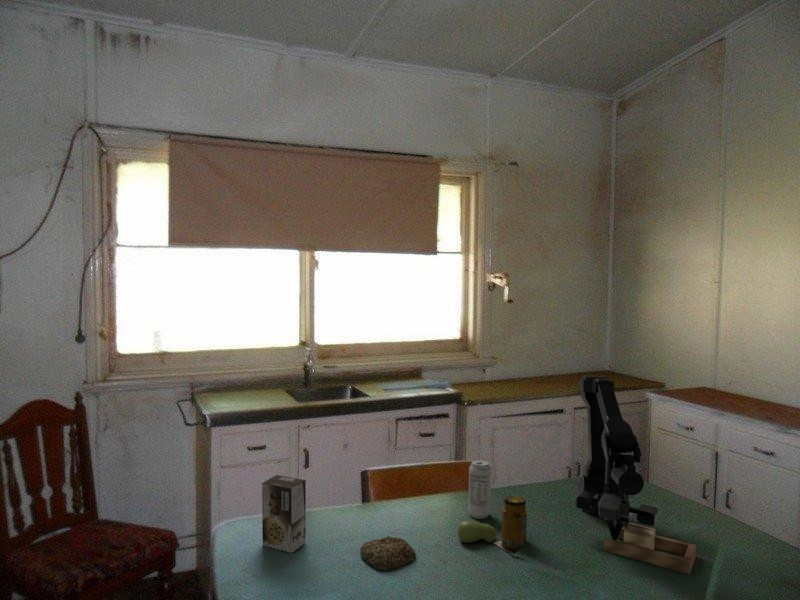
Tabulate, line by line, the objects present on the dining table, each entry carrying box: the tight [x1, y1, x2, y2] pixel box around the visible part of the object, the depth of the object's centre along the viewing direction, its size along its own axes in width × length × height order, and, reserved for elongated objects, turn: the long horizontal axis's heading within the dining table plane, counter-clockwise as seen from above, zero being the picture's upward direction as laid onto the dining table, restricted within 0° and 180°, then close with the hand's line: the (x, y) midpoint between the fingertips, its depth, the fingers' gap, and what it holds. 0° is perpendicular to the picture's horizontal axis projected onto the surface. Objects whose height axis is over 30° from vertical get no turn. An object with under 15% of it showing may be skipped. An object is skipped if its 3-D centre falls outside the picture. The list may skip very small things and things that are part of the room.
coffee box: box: [261, 474, 307, 554], centre depth 147 cm, size 9×6×16 cm
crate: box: [623, 522, 656, 550], centre depth 144 cm, size 6×6×5 cm
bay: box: [602, 526, 697, 575], centre depth 143 cm, size 19×13×4 cm
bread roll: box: [359, 535, 416, 571], centre depth 142 cm, size 13×12×5 cm
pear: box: [456, 519, 497, 544], centre depth 151 cm, size 6×5×10 cm
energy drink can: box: [467, 459, 492, 520], centre depth 166 cm, size 6×6×15 cm
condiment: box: [493, 495, 528, 558], centre depth 147 cm, size 7×8×12 cm
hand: (615, 541), depth 147 cm, fingers closed
